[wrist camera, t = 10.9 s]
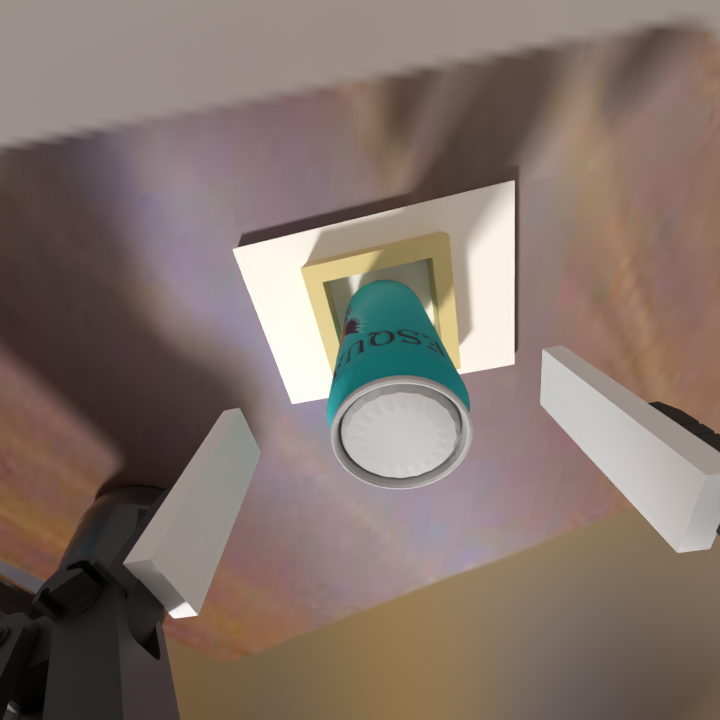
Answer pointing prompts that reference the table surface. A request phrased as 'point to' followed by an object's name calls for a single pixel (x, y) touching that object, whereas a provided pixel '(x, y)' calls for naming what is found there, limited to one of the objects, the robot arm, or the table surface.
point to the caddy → (390, 262)
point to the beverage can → (396, 393)
